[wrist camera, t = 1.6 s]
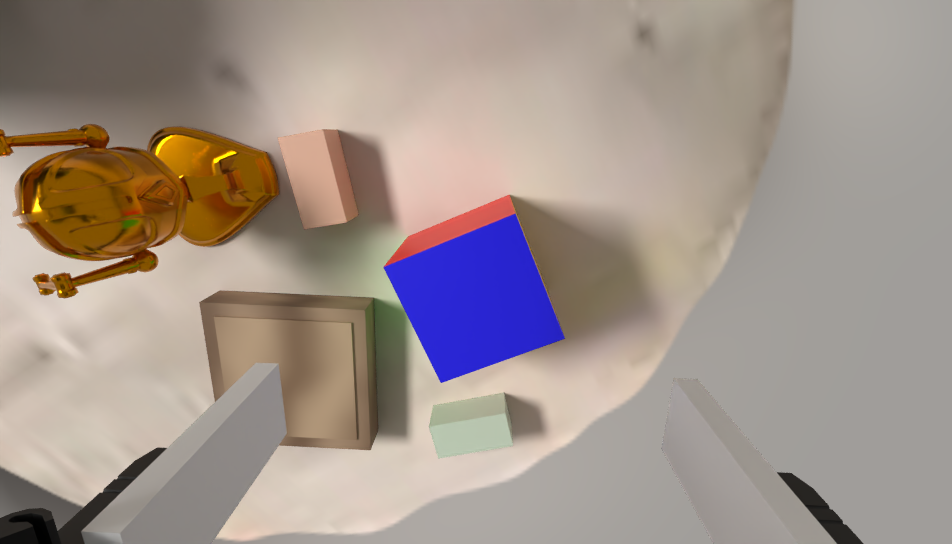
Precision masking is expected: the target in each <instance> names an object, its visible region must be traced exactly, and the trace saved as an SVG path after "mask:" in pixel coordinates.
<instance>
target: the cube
mask: <svg viewBox="0 0 952 544" xmlns="http://www.w3.org/2000/svg"><path fill="white" fill-rule="evenodd" d="M384 269H385V271H386V273H387V275H388V277H389V279H390V281H391V283H392V285H393V287H394V289H395V291H396V293H397V295H398V297H399V300H400V302H401V304H402V306H403V308H404V310H405V312H406V314H407V316H408V318H409V320H410V322H411V324H412V326H413V328H414V330H415V332H416V334H417V336H418V338H419V340H420V342H421V344H422V346H423V348H424V350H425V352H426V354H427V356H428V358H429V360H430V362H431V364H432V366H433V368H434V370H435V372H436V374H437V376H438V378H439V380H440V382H441V383H442V382H445V381H448V380H451V379H453V378H456V377H459V376H462V375H465V374H467V373H470V372H473V371H476V370H479V369H481V368H484V367H487V366H490V365H493V364H495V363H498V362H501V361H504V360H507V359H509V358H512V357H515V356H518V355H521V354H523V353H526V352H529V351H532V350H535V349H537V348H540V347H543V346H546V345H548V344H551V343H554V342H557V341H560V340H562V339H565V337H564V334H563V332H562V329H561V326H560V324H559V321H558V318H557V315H556V313H555V310H554V307H553V305H552V302H551V299H550V296H549V294H548V291H547V289H546V286H545V283H544V281H543V278H542V276H541V273H540V271H539V268H538V266H537V263H536V261H535V258H534V256H533V253H532V250H531V248H530V245H529V243H528V240H527V238H526V235H525V233H524V230H523V228H522V225H521V223H520V220H519V218H518V215H517V212H516V210H515V207H514V205H513V202H512V200H511V197H510V195H507V196H505V197H503V198H500V199H498V200H495V201H493V202H490V203H488V204H486V205H483V206H481V207H478V208H476V209H474V210H471V211H469V212H466V213H464V214H461V215H459V216H457V217H454V218H452V219H449V220H447V221H445V222H442V223H440V224H437V225H435V226H432V227H430V228H428V229H425V230H423V231H420V232H418V233H416V234H413V235H411V236H408V237H407V239H406V240H405V241H404V242H403V244H402V245H401V246H400V247H399V249H398V250H397V251H396V252H395V253H394V255H393V256H392V257H391V258H390V260H389V261H388V262H387V263H386V265H385V266H384Z"/></svg>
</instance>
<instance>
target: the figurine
mask: <svg viewBox="0 0 952 544" xmlns="http://www.w3.org/2000/svg"><path fill="white" fill-rule="evenodd" d="M4 135H5V133H4V130H1V129H0V157H5V156H10V155H11V154H12V153H14V152H13V150H12V148H11V147H33V146H68V145H74V146H75V147H78V146H84V145H85V146H87V147H84V148H77V149H73V150H68V151H62V152H58V153H54V154H51V155H48V156H46V157H44V158H42V159H40V160H38V161H36V162H35V163H33V164H32V165H30V166H29V167H28V168H27V169H26V170H25V171H24V172H23V173H22V175H21V176H20V179H19V180H18V181H17V183H16V185H15V198H16V203H17V209H16V211H13V217H15V216H19V217H20V219H21V221H22V223H21V224H17V226H18V227H20V228H22V229H27V230H28V231H29V232H30V233H31V234H32V236H33V237H34V238H35V239H36V241H37V242H38V243H39V244H40V245H41V246H42V247H43V248H45V249H47V250H49V251H51V252H54V253H56V254H58V255H61V256H64V257H67V258H71V259H77V260H85V261H103V260H110V259H115V258H122V257H127V256H131V255H133V256H132V258H126V259H123V261H121V262H118V263H115V264H112V265H109V266H106V267H103V268H100V269H97V270H94V271H91V272H88V273H85V274H82V275H79V276H77V277H74V278H71V275H70V273H59V274H55V275H53V276H52V277H51V278H50V277H49V275H48V274H44V273H42V274H38V275H35V277H33V280H34V282H36V284H37V286H38V288H39V293H40V295H49V294H52V293H54V291H56V290H57V295H58V297H59V298H69V297H72V296H75V295H76V293H78V290H77V288H76V287H77V286H81V285H85V284H89V283H92V282H96V281H100V280H104V279H108V278H111V277H115V276H119V275H123V274H127V273H128V274H131V273H135V272H137V270H138V271H140V272H149V271H152V270H154V269H155V268H156V267H157V265H158V257H157V256H156V254H154V253H153V252H151V251H149V250H147V248H151V247H156V246H159V245H162V244H164V243H166V242H168V241H170V240H172V239H173V238H175V237H176V236H177V235H178V234H179V235H180V236H181V237H182V238H183V239H185V240H186V241H188V242H189V243H191V244H194V245H197V246H203V247H205V246H213V245H216V244H219V243H221V242H223V241H225V240H227V239H229V238H230V237H232V236H233V235H234V234H236V233H237V232H238V231H240V230H241V229H242V228H243V227H244V226H246V225H247V224H248V223H249V222H250V221H251V220H252V219H253V218H254V217H255V216H256V215H257V214H258V213H259V212H261V211H262V210H263V209H264V208H265V207H266V206H267V205H268V204H269V203H270V202H271V201H272V200H273V199H275V198H276V197H277V196H278V195H279V186H278V180H277V175H276V172H275V169H274V166H273V164H272V162H271V160H270V158H269V156H268V154H267V152H264V151H261V150H258V149H255V148H251V147H249V146H246V145H243V144H241V143H238V142H235V141H233V140H230V139H227V138H224V137H221V136H218V135H215V134H212V133H209V132H205V131H202V130H198V129H193V128H188V127H167V128H163V129H161V130H159V131H157V132H156V133H155V134H154V135H153V136H152V138H151V139H150V141H149V144H148V148H147V150H144V149H139V148H132V147H113V148H108V149H107V148H106V146H107V144H108V143H109V135H108V133H107V131H106V130H105V129H104V128H102V127H101V126H99V125H95V124H86V125H83V126H82V127H81V128H80V129H79V130H78V129H69V130H68V131H59V132H48V133H38V134H28V135H18V136H7V137H6V136H4Z"/></svg>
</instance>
